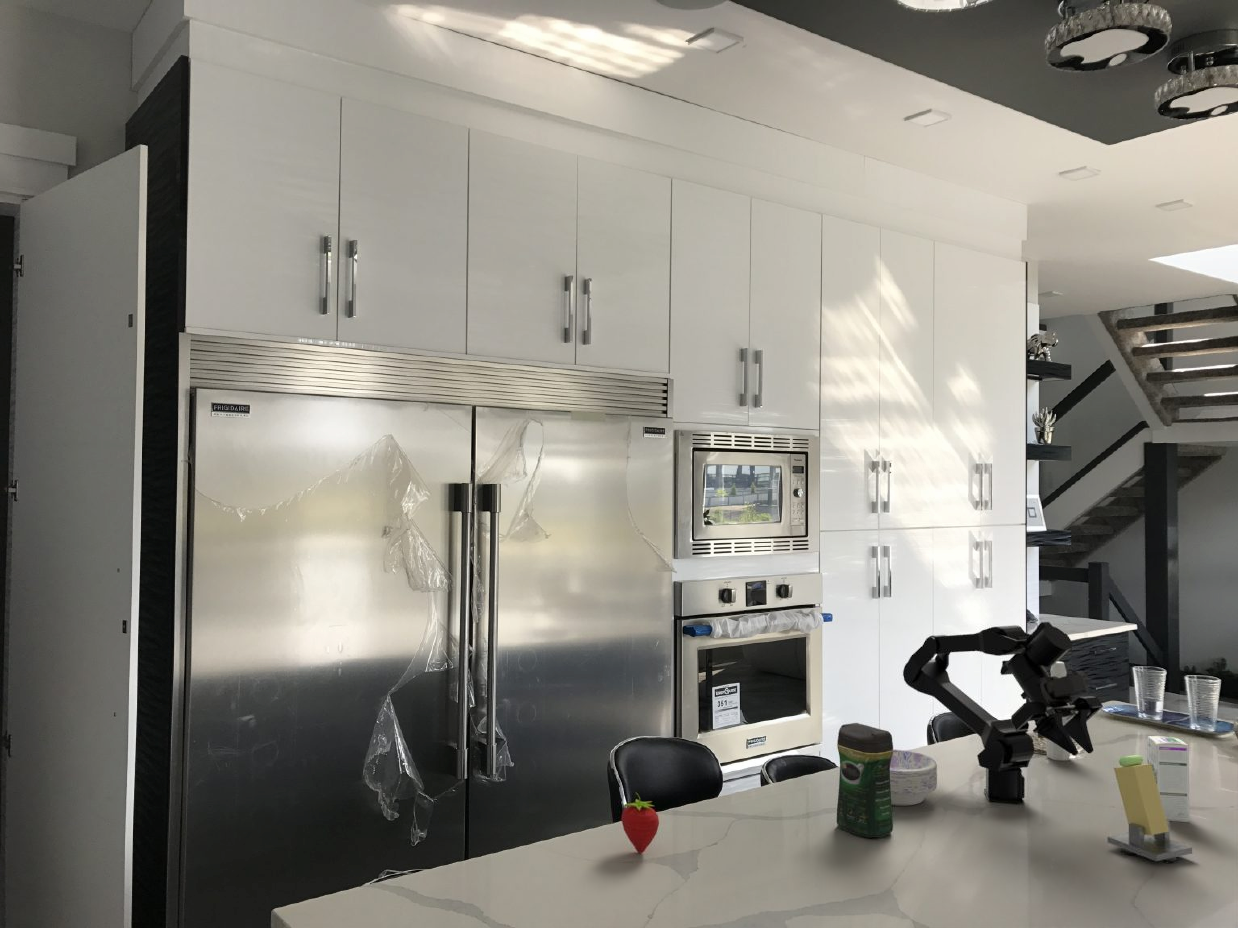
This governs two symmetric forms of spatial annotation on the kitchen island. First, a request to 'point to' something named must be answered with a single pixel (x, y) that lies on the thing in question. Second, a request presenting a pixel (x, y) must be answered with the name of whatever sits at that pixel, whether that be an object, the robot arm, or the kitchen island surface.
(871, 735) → the coffee jar
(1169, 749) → the syrup box
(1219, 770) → the kitchen island surface
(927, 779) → the paper bowls
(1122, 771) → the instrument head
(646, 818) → the strawberry
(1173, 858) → the base
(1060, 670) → the faceted bottle
